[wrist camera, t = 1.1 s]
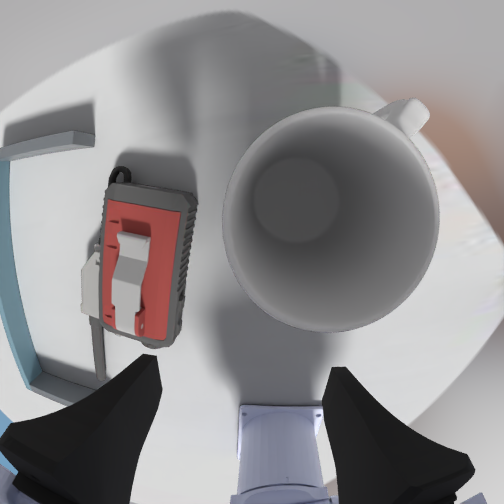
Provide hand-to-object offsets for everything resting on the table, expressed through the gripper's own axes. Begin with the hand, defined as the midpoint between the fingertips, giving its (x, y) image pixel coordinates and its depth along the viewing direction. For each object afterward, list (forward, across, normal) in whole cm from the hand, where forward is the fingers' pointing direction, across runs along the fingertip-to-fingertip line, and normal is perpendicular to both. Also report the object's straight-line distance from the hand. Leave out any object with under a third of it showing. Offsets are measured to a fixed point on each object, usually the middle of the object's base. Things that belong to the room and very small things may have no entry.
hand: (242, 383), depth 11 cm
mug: (+11, -4, -7) cm, 14 cm away
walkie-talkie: (+11, +9, +2) cm, 15 cm away
